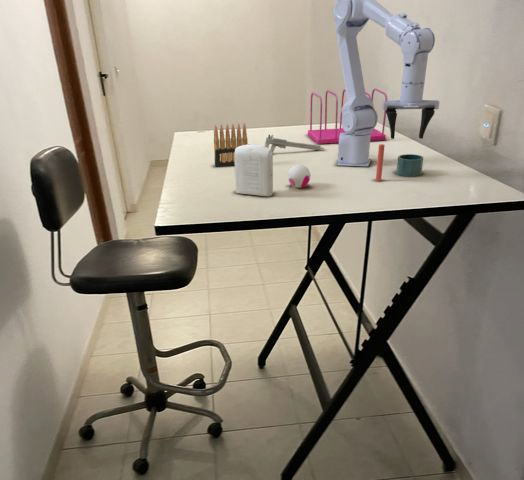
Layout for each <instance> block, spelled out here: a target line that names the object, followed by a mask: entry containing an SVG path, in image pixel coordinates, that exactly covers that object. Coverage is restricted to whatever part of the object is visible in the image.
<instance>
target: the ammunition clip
mask: <svg viewBox="0 0 524 480" xmlns="http://www.w3.org/2000/svg"><path fill="white" fill-rule="evenodd" d="M229 127H230V126H229V124H226V125H225V130H224V127H223V125H222V124H220V125H219V131H218V127H217V124H216V125H214V127H213V150H214V151H213V152H214V167H215V168H220V167H222V168H223V167H235V160H234V154H235V149H236V148H237V147H239V146H242V145H247V144H248V142H249V141H248V135H247V134H248V133H247V126H246V124H245V123H243V125H242V129H241V125H240V123H238V124H237V126H236V128H235V125H234V123H233V124H231V128H229ZM230 129H231V131H230ZM241 130H242V131H241ZM224 131H225V132H224ZM230 132H231V133H230Z"/></svg>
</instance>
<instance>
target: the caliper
mask: <svg viewBox="0 0 524 480" xmlns="http://www.w3.org/2000/svg"><path fill="white" fill-rule="evenodd" d="M270 145H271V147H270ZM264 147H267V148H269V149H271V150H272V153H274V151H275V150H276V147H277V148H280V149H284V150H285V149H286V147H288V148H289V147H290V148H295V149H296V148H298V149H305V150H312V151H319V152H320V151H321V150H325V148H324V147H323V146H321V145H320V144H312V143H311V144H310V143H303V142H302V143H301V142H297V141H296V142H295V141H288V140H287V139H282V138H275V137H274V134H268V136H266V138H265V141H264Z"/></svg>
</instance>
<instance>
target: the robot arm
mask: <svg viewBox="0 0 524 480" xmlns="http://www.w3.org/2000/svg"><path fill="white" fill-rule="evenodd" d="M332 14H333V19H334V26H335V38H336V43H337V49H338V56H339V60H340V67H341V72H342V78H343V83H344V89H345V90H346V91H345V95H346V102H345V103H343V107H342V109H341V108H340V111H341V110H342V124H341V128H343V129H344V131H345V133H340V136H339V142H338V147H337V148H338V149H337V151H338V152H337V166H343V167H344V166H346V167H348V166H349V167H369V166H370V163H371V160H372V159H371V158H370V147H371V141H370V137H371V132H373V128H374V129H376V126H377V124H378V121H379V116H378V112H377V110H376V109H375V105H374V100H373V101H372V100H371V99H369V96H368V95H366V94H365V92H366V89H365V82H364V76H363V70H362V64H361V63H362V62H361V58H360V57H361V56H360V51H359V45H358V40H357V39H358V38H357V37H358V35H359V33H360V32H361V31H362V30H363V29H364V28H365V26H366V25H367V23H368V22H369V21H372V22H373V23H375V24H376V25H379V26H380V27H381V28H384V32H385V36H386V37H387V38H388V39H389V40H391V41H393V42H394V43H396V44H397V45H398V46H399V47H400V49H401V53H402V62H403V69H402V78H401V86H400V87H401V88H400V97H399V99H397V100H396V99H395V100H387V101H385V100H384V101H383V100H382V104H381V105H382V106H381V110H382V111H385V110H386V117H387V121H388V125H389V130H390V131H389V132H390V139H391V140H394V139H395V136H396V133H395V132H396V122H397V118H398V117H397V116H398V113H397V110H421V117H420V118H421V119H420V127H419V133H418V138H419V139H422V140H423V138H424V136H425V133H426V130H427V127H428V126H429V123H430V122H431V120H432V118H433V117H434V115H435V110H439V109H440V108H439V107H440V101H439V100H437V99H423V98H424V88H425V83H426V74H427V66H428V60H429V59H428V58H429V54H430V53H431V52H432V51H433V49H434V47H435V43H436V36H435V33H434V31H433V30H432V29H431V28H430V27H423V28H421V27H420V24H419V23H418V22H414V21H412V20H411V19H409V18H408V14H407V13H405V12H400V13H395V14H393V13H391V12H390V11H389V10H388V9H387V8H386V7H385V6H383V5H382V4H381V3H379V2H378V0H336V1H335V4H334V7H333V9H332ZM354 109H355V110H354ZM356 109H357V110H356Z"/></svg>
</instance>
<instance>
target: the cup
mask: <svg viewBox="0 0 524 480" xmlns="http://www.w3.org/2000/svg"><path fill="white" fill-rule="evenodd" d="M423 164H424V156H422V155H419V154H414V153H413V154H412V153H407V154H406V153H405V154H400V155H398V156H397V163H396V174H397V175H399V176H402V177H418V176H421V175H422V173H423V172H422V171H423Z"/></svg>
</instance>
